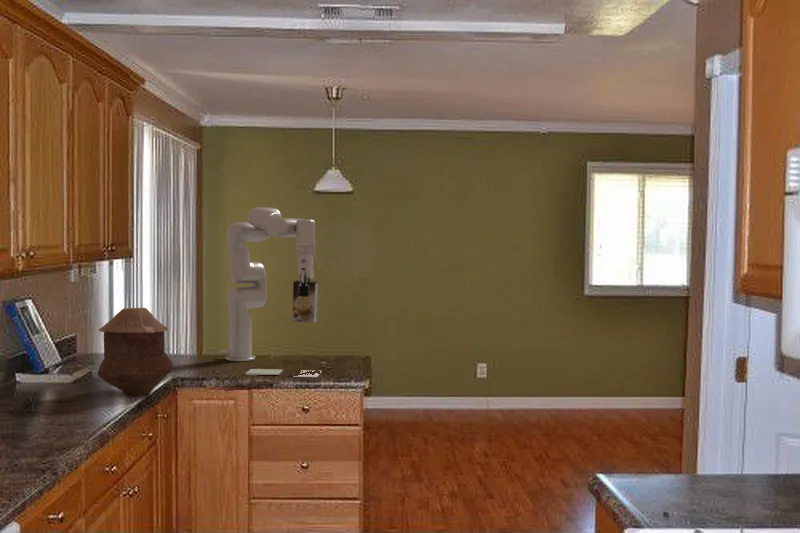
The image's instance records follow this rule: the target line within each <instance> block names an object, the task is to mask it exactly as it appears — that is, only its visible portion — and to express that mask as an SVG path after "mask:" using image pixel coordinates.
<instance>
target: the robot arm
mask: <svg viewBox="0 0 800 533" xmlns="http://www.w3.org/2000/svg"><path fill="white" fill-rule="evenodd" d="M246 218H247V221H239V222H233V223H231V224H230V225H229V226H228V228H227V230H226V238H225V239H226V243H227V247H228V252H229V275H230V280H231V282H233V284H237V285H238V284H239V285H243V284H251V286H237V287H233V288H231V289H229V291H228V292H227V299H226V300H227V305H228V312H229V348H228V349H220V350H219V354H220V355H226V356H225V359H226V361H229V362H230V361H231V362H249V361H254V360H256V355H252V354H253V348H252V347H253V339H252V338H253V322H252V321H253V320H252V316H251V314H250V311H249V310H248V309H257V308H263V307H264V306H265V304H266V303H267V298H268V296H267V293H268V291H267V272H266V268H265V266H264V264H262V263H261V262H259V261H250V260H251V259H250V251H249V249H248V248H249V247H247V245H246V244H245V242H247V243H248V242H249V243H252V242H253V243H254V242H255V243H256V242H257V243H259V242H264V241H266V240H267V239H269V238H270V237H271V236H274V237H277V238H278V237H279V238H296V239H295V242H296V243H295V255H298V266H297V267H298V268H297V269H298V270H297V272H298V280H299V281H300V296H304V297H307V296H308V286H307V282H308V281H311V280H312V279H314V278H315V277H314V276H315V273H314V271H315V270H314V255H316V221H315V220H314V219H307V218H305V219H304V218H291V217H290V218H289V217H285V218H284V217H282V213H281V212H280V210H278V209H277V208H276V207H264V206H263V207H261V206H259V207H258V206H257V207H254V208H251V209H250V210H249V211H248V212H247V216H246Z"/></svg>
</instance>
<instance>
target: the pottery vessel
mask: <svg viewBox="0 0 800 533" xmlns="http://www.w3.org/2000/svg"><path fill="white" fill-rule="evenodd" d="M168 330H169V327H167V326H165V325H164V324H162V323H161V322H160V321H159V320H158V319H156V317H155V316H154V315H153V314H152V313H151V312H150V311H149V310H148V309H147V308H146V307H126V308H122V309H121V310H120V311H119V312H118V313H116V314H115V315H114V316H113V317H112V318H111V319H110V320H109V321H107V322H106V323H105V324H104V325H103V326H101V327H100V328H99V329H98V331H99V332H102V333H103V360H102V361H101V363H100V364H99V367H98V371H97V376H98V377H99V378H100V379H102V380H103V381H104V382H105V383H107V384H109V385H110V386H112V387H114V388H116V389H117V390H120V391H122V393H123V394H125V395H131V396H143V394H145V395H147V394H146V393H149V392H151V391H152V392H153V390H154V388H156V387H157V386H158V385H159V384H160V383H161V382H162V380H164V379H165V378H166V377H167V376H168V375H169V374H170V373H171V372H172V371H173V369H174V367H175V365H174V363H173V361H172V359H171V358H170V357H169V356H168V355H167V353H166V349H165V347H166V346H165V345H166V344H165V343H166V342H165V340H166V339H165V338H166V337H165V332H166V331H168ZM152 392H151V393H152ZM149 394H150V393H149Z"/></svg>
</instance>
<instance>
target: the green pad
mask: <svg viewBox="0 0 800 533" xmlns="http://www.w3.org/2000/svg"><path fill="white" fill-rule="evenodd" d="M282 371H284V369H280V368H279V369H277V368H276V369H274V368H272V369H271V368H268V369H267V368H250V369H249V370H247V371H246V372H245V376H257V375H279V374H280V373H281V372H282ZM282 373H283V372H282ZM282 373H281V374H282ZM281 374H280V375H281ZM280 375H279V376H280Z"/></svg>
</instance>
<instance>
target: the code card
mask: <svg viewBox="0 0 800 533" xmlns="http://www.w3.org/2000/svg"><path fill="white" fill-rule="evenodd" d="M302 371H303V372H302ZM307 371H308V372H309V371H310V370H304V369H303V370H302V369H301V372H300V374H302V373H305V372H307ZM311 371H312V372H314V371H315V370H311ZM319 371H320V374H321V373H323V372H322V371H323V370H319ZM307 374H308V373H306V375H305V374H303V375H298V376H293V377H294V378H300V377H301V378H318V377H319V375H320V374H318V373H315V374H314V375H312V374H310V373H309V374H308V375H307Z"/></svg>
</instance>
